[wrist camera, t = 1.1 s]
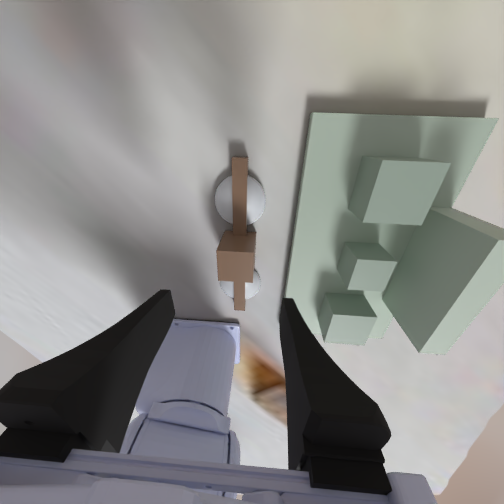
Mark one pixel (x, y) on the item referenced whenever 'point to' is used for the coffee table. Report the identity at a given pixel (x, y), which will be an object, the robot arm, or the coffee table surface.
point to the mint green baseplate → (391, 230)
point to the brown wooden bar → (239, 232)
